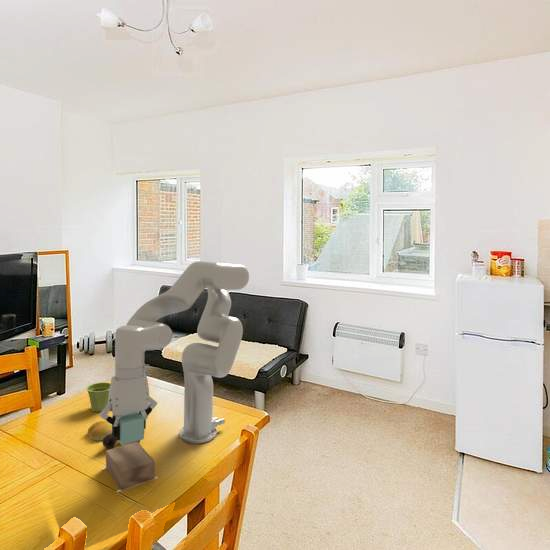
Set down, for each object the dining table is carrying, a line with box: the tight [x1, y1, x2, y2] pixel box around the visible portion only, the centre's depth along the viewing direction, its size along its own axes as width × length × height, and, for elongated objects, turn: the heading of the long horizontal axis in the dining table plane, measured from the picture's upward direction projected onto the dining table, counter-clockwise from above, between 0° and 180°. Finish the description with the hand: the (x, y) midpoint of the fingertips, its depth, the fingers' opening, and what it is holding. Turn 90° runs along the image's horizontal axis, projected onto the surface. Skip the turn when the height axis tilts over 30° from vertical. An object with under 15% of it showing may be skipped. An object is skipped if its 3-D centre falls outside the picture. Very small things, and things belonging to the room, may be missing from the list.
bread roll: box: [87, 420, 112, 441], centre depth 138 cm, size 8×9×4 cm
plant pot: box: [86, 382, 111, 413], centre depth 157 cm, size 9×9×9 cm
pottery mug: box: [102, 433, 141, 450], centre depth 129 cm, size 12×10×8 cm
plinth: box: [105, 442, 156, 491], centre depth 114 cm, size 9×13×5 cm
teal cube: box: [117, 412, 145, 446], centre depth 113 cm, size 6×6×6 cm
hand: (129, 434), depth 113 cm, fingers closed on teal cube, 6 cm apart
